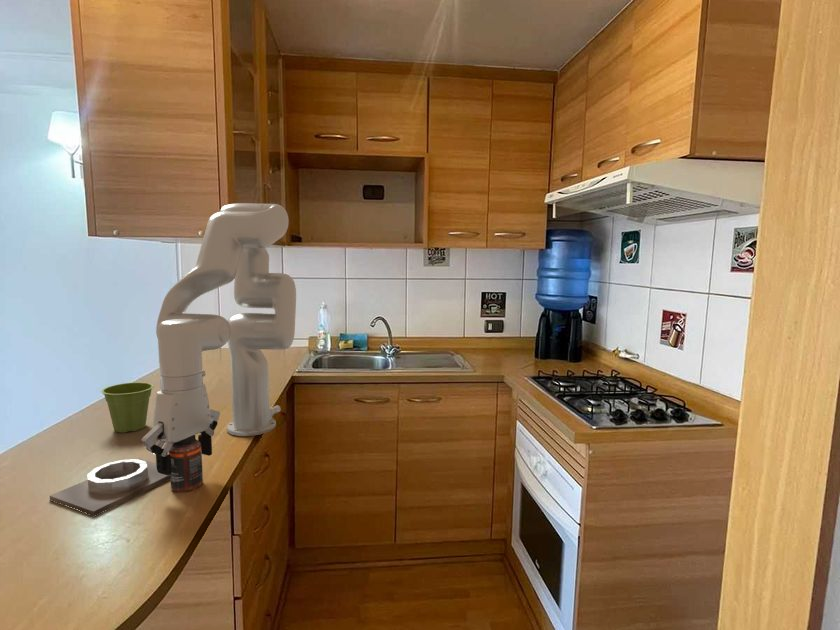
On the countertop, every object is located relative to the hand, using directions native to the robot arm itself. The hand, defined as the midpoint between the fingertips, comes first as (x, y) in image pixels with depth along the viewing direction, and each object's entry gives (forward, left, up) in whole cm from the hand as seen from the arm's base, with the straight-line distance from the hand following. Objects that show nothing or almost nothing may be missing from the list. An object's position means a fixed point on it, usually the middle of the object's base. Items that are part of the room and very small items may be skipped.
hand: (185, 463), depth 94 cm
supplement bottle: (0, 0, -5) cm, 5 cm away
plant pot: (-16, -40, -5) cm, 43 cm away
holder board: (+6, -12, -5) cm, 14 cm away
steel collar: (+6, -12, -5) cm, 14 cm away
